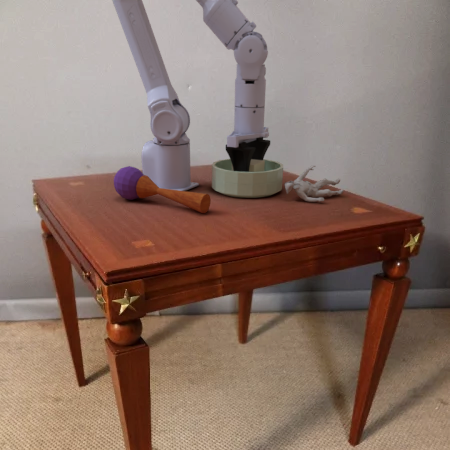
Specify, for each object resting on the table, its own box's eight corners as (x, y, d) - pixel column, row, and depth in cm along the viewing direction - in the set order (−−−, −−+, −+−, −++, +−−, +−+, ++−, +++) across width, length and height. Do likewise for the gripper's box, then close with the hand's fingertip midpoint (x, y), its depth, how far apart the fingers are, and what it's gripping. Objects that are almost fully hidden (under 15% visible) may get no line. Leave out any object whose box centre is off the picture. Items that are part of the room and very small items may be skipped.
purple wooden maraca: (194, 194, 82) (104, 170, 90) (196, 226, 86) (110, 200, 94) (214, 181, 86) (125, 159, 94) (215, 212, 90) (130, 188, 98)
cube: (231, 187, 100) (231, 162, 98) (242, 182, 104) (242, 158, 102) (253, 191, 98) (254, 164, 96) (263, 185, 102) (264, 160, 100)
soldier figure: (348, 204, 96) (305, 192, 89) (329, 217, 100) (287, 206, 93) (338, 170, 98) (296, 155, 91) (320, 184, 102) (278, 171, 95)
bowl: (199, 193, 99) (199, 167, 97) (232, 179, 110) (232, 155, 107) (264, 202, 93) (265, 175, 91) (291, 187, 104) (293, 162, 102)
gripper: (252, 111, 87) (249, 189, 93) (283, 104, 98) (279, 175, 105) (217, 108, 89) (216, 185, 96) (251, 102, 101) (249, 171, 107)
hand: (247, 179), depth 101 cm, fingers closed on cube, 5 cm apart
